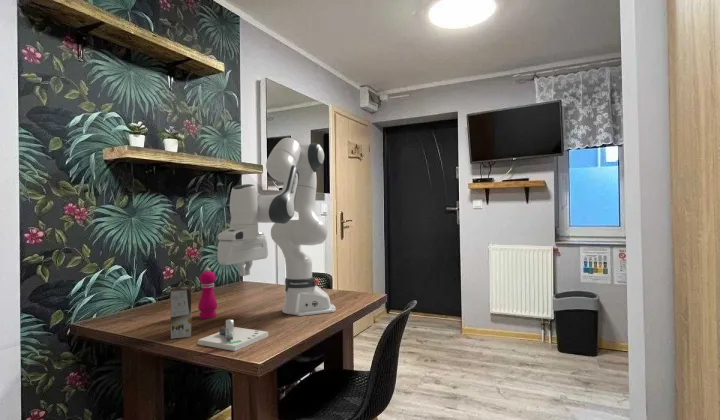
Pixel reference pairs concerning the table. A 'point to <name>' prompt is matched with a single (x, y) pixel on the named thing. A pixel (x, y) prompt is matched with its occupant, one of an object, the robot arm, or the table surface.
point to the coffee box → (180, 312)
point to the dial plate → (234, 339)
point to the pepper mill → (207, 295)
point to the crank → (228, 330)
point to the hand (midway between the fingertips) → (244, 275)
